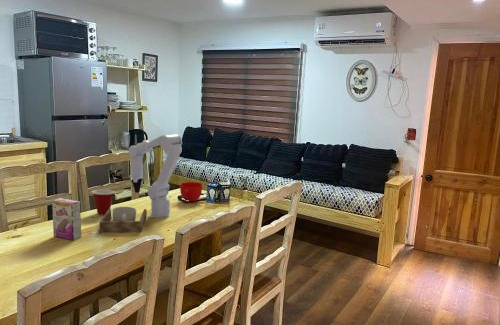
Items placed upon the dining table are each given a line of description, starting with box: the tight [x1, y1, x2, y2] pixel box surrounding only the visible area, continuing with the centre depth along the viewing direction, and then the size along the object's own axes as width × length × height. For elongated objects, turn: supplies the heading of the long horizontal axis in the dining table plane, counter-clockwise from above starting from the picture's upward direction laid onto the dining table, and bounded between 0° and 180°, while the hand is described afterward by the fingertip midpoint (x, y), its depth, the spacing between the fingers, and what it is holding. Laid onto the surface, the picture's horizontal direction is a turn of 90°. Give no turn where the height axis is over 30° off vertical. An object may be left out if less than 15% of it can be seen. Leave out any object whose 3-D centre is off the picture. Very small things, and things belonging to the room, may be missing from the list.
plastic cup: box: [91, 189, 115, 216], centre depth 202 cm, size 11×11×12 cm
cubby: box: [98, 208, 148, 234], centre depth 186 cm, size 18×19×5 cm
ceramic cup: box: [179, 181, 203, 202], centre depth 229 cm, size 13×17×10 cm
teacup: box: [111, 206, 137, 221], centre depth 185 cm, size 14×11×8 cm
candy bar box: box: [51, 197, 82, 241], centre depth 168 cm, size 11×5×16 cm, turn 71°
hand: (137, 192), depth 210 cm, fingers closed
